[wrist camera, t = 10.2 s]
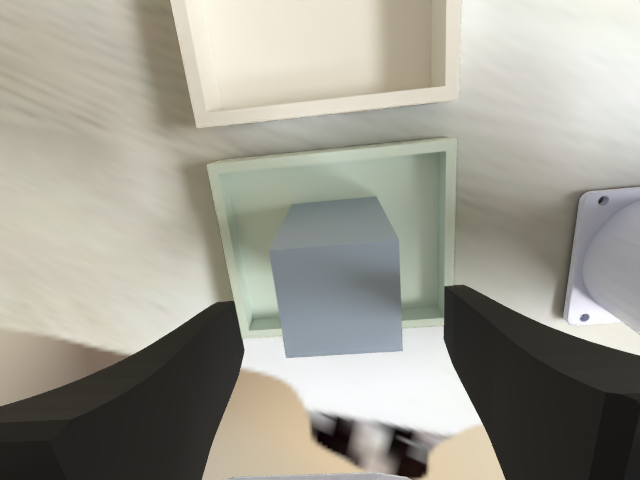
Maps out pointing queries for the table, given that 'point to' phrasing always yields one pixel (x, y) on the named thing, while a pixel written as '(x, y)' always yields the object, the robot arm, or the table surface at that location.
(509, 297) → the table surface
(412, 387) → the table surface
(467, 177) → the table surface
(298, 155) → the tray
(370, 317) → the block
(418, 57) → the white square bin
